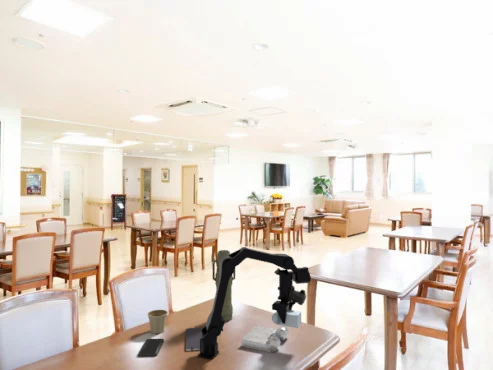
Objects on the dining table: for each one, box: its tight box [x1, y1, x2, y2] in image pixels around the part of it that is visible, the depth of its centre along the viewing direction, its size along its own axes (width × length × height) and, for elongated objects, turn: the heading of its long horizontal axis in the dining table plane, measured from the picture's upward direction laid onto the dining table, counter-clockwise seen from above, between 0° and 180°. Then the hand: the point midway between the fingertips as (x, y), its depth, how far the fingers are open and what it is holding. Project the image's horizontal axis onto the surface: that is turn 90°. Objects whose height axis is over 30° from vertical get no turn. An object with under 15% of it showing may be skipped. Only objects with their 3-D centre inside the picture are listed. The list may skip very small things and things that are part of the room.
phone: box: [137, 338, 165, 358], centre depth 144 cm, size 8×1×15 cm
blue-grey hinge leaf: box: [271, 310, 302, 329], centre depth 145 cm, size 11×6×5 cm, turn 65°
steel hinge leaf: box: [240, 325, 290, 353], centre depth 149 cm, size 16×16×5 cm
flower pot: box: [146, 309, 169, 334], centre depth 161 cm, size 9×9×9 cm
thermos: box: [212, 249, 236, 323], centre depth 177 cm, size 9×12×35 cm
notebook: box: [185, 326, 204, 352], centre depth 153 cm, size 13×2×21 cm
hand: (286, 321), depth 145 cm, fingers closed on blue-grey hinge leaf, 5 cm apart
